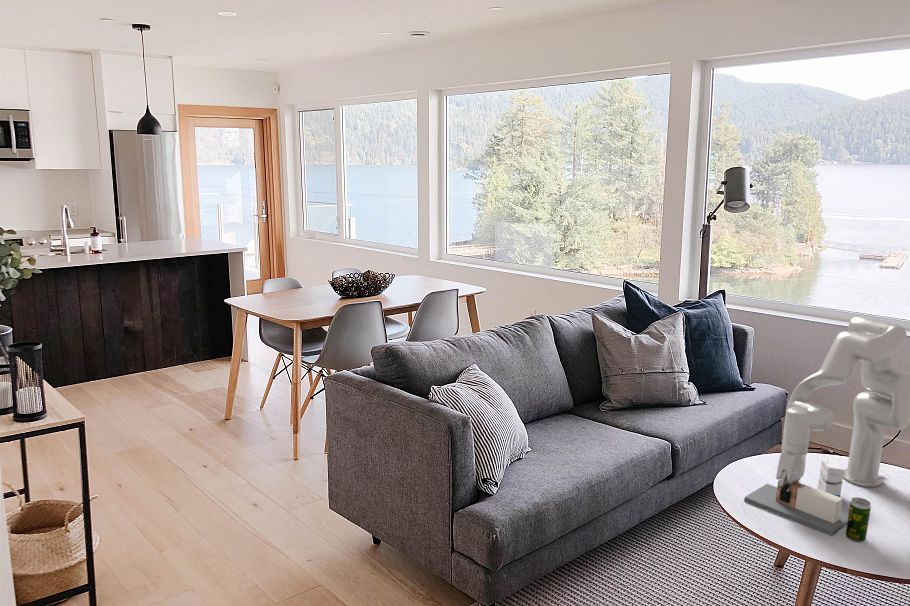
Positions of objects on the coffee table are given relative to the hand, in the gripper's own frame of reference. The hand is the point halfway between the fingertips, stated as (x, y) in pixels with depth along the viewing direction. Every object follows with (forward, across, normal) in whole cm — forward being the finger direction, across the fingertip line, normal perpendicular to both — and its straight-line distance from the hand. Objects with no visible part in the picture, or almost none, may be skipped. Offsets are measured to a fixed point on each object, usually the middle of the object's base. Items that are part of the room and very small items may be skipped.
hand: (788, 498), depth 238 cm
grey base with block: (+3, 0, +3) cm, 4 cm away
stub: (+1, 0, 0) cm, 1 cm away
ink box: (+3, -18, +5) cm, 19 cm away
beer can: (+3, +3, +22) cm, 23 cm away
